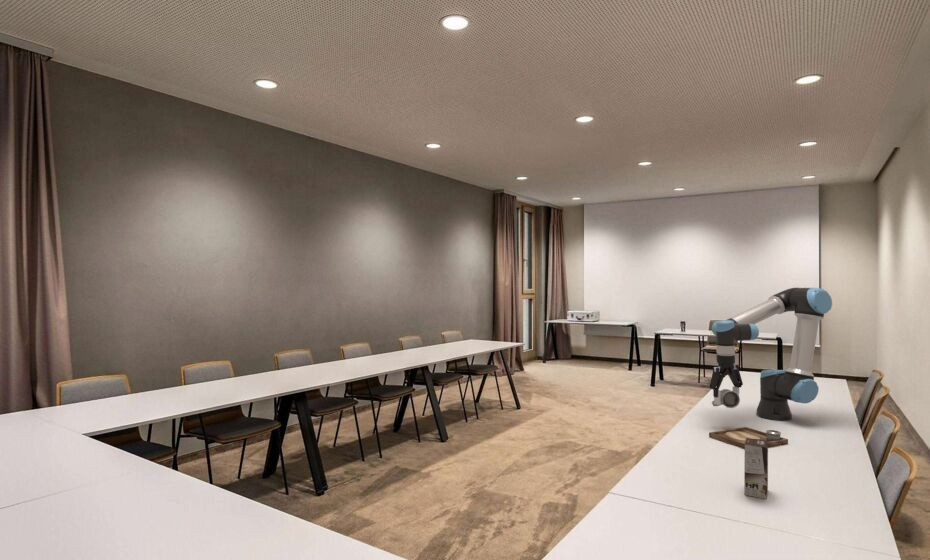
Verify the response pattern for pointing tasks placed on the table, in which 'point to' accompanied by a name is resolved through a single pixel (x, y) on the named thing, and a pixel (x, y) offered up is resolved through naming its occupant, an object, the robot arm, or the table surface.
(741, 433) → the tray
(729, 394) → the ceramic mug
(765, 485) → the coffee box
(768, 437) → the sugar tin
